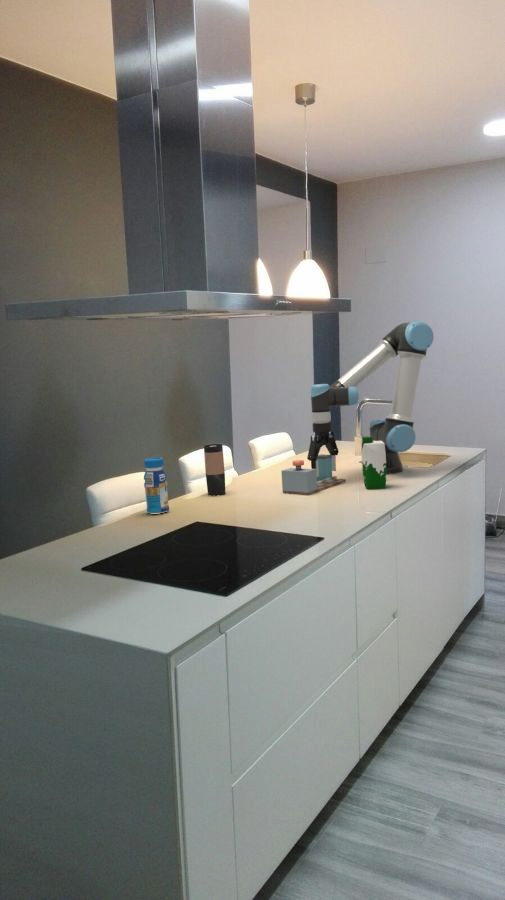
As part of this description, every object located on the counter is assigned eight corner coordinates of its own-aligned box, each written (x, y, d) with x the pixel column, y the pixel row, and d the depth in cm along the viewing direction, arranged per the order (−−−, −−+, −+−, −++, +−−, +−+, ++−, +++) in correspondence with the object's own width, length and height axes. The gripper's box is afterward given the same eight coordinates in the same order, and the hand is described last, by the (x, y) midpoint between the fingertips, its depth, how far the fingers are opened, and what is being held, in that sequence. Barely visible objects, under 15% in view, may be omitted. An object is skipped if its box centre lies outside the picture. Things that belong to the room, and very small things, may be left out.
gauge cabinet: (292, 487, 288) (290, 467, 287) (317, 489, 281) (316, 469, 280) (282, 490, 283) (281, 470, 282) (308, 492, 276) (306, 472, 275)
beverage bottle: (143, 512, 266) (138, 458, 263) (165, 508, 269) (161, 456, 266) (150, 516, 258) (145, 461, 255) (172, 512, 261) (168, 458, 259)
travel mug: (227, 491, 294) (223, 443, 291) (224, 495, 286) (221, 446, 284) (208, 492, 295) (205, 444, 292) (205, 496, 287) (202, 447, 284)
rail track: (321, 480, 305) (320, 473, 305) (345, 481, 298) (345, 474, 297) (282, 493, 284) (282, 485, 283) (308, 495, 276) (307, 487, 276)
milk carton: (362, 486, 287) (359, 436, 284) (385, 484, 286) (382, 434, 284) (365, 490, 278) (362, 439, 275) (388, 488, 278) (386, 437, 275)
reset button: (297, 469, 284) (296, 460, 284) (306, 470, 282) (305, 460, 281) (290, 471, 281) (290, 461, 280) (300, 471, 278) (299, 462, 278)
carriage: (322, 479, 300) (320, 454, 298) (333, 480, 296) (331, 454, 295) (316, 481, 296) (315, 456, 295) (327, 482, 293) (326, 456, 291)
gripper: (329, 418, 305) (332, 468, 308) (296, 425, 286) (299, 478, 289) (345, 418, 300) (347, 469, 303) (312, 425, 281) (315, 479, 284)
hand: (324, 473), depth 296 cm, fingers open, 13 cm apart
